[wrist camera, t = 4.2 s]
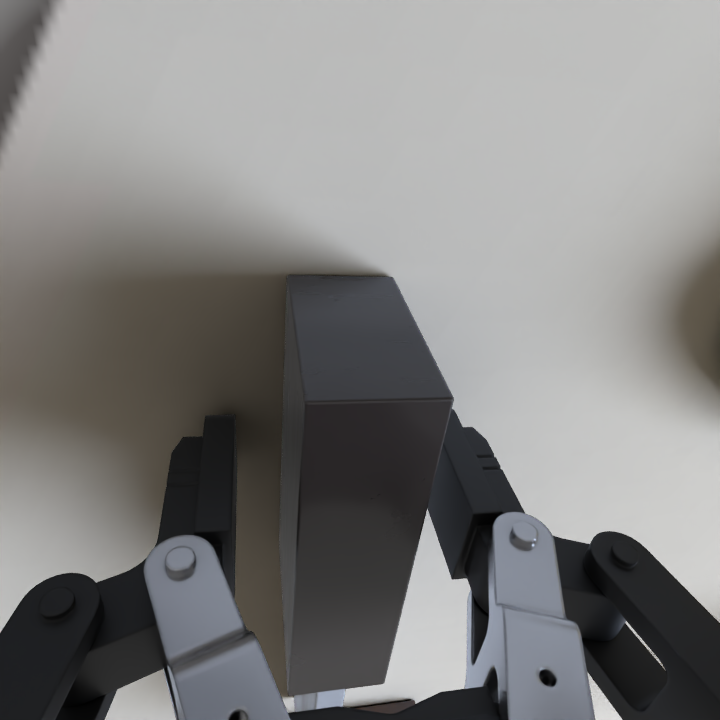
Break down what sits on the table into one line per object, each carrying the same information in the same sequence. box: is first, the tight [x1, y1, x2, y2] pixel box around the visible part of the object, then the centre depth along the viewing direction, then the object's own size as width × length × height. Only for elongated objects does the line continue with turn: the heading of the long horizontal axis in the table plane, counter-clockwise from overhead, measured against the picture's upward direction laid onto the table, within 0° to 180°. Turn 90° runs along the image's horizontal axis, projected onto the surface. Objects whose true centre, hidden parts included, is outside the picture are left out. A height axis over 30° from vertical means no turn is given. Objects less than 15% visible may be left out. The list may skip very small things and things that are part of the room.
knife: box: [279, 275, 454, 712], centre depth 15 cm, size 19×2×4 cm, turn 174°
